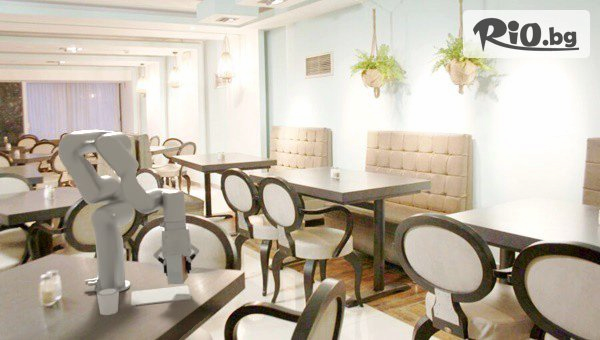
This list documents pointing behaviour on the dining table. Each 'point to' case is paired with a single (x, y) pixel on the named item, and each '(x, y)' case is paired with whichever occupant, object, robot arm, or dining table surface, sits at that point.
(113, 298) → the shot glass
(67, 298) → the dining table surface
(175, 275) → the small box
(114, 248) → the robot arm
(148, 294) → the mat
